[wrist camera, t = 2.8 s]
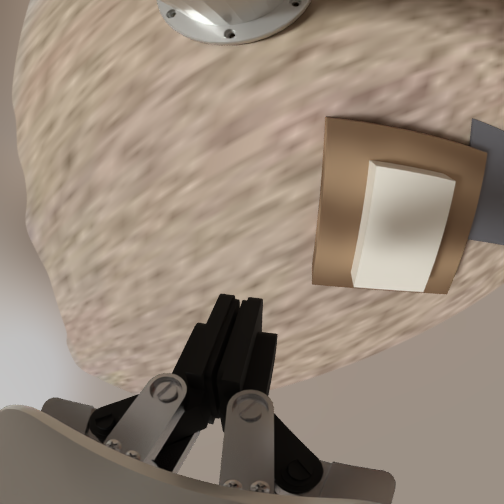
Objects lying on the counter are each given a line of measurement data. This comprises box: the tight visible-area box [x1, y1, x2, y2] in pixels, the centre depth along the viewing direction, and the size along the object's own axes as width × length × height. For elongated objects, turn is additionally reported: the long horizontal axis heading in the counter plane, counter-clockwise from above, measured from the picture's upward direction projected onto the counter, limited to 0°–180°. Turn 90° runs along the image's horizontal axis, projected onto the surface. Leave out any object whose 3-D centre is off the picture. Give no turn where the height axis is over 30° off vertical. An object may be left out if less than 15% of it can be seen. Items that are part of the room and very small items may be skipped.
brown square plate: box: [312, 117, 487, 294], centre depth 20 cm, size 13×13×3 cm
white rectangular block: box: [351, 160, 456, 292], centre depth 18 cm, size 9×6×2 cm, turn 0°
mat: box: [468, 119, 504, 245], centre depth 17 cm, size 11×10×1 cm
